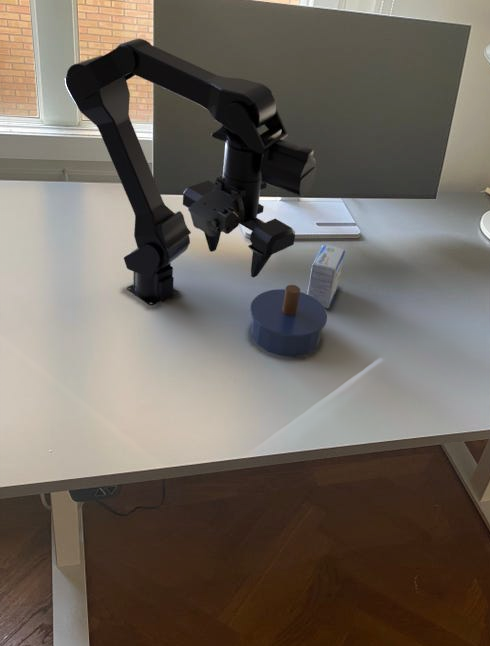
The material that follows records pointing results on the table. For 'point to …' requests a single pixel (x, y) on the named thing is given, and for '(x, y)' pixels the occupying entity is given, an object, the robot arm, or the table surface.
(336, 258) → the medicine box
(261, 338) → the dark blue round container
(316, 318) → the cover
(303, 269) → the table surface
